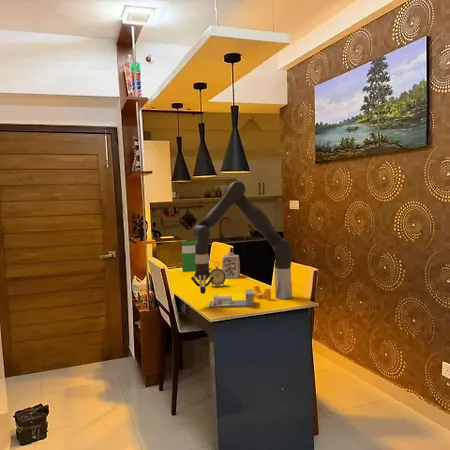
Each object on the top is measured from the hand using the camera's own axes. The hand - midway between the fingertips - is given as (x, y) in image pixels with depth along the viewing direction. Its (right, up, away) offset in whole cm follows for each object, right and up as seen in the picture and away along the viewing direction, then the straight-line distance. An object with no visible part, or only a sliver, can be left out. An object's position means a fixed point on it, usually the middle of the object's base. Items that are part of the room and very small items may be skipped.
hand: (203, 293), depth 227 cm
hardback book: (-14, 0, +112) cm, 113 cm away
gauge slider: (+11, -5, -1) cm, 12 cm away
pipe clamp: (+33, -5, +12) cm, 35 cm away
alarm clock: (+7, -3, +49) cm, 50 cm away
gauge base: (+16, -6, 0) cm, 17 cm away
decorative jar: (+17, -1, +80) cm, 82 cm away
